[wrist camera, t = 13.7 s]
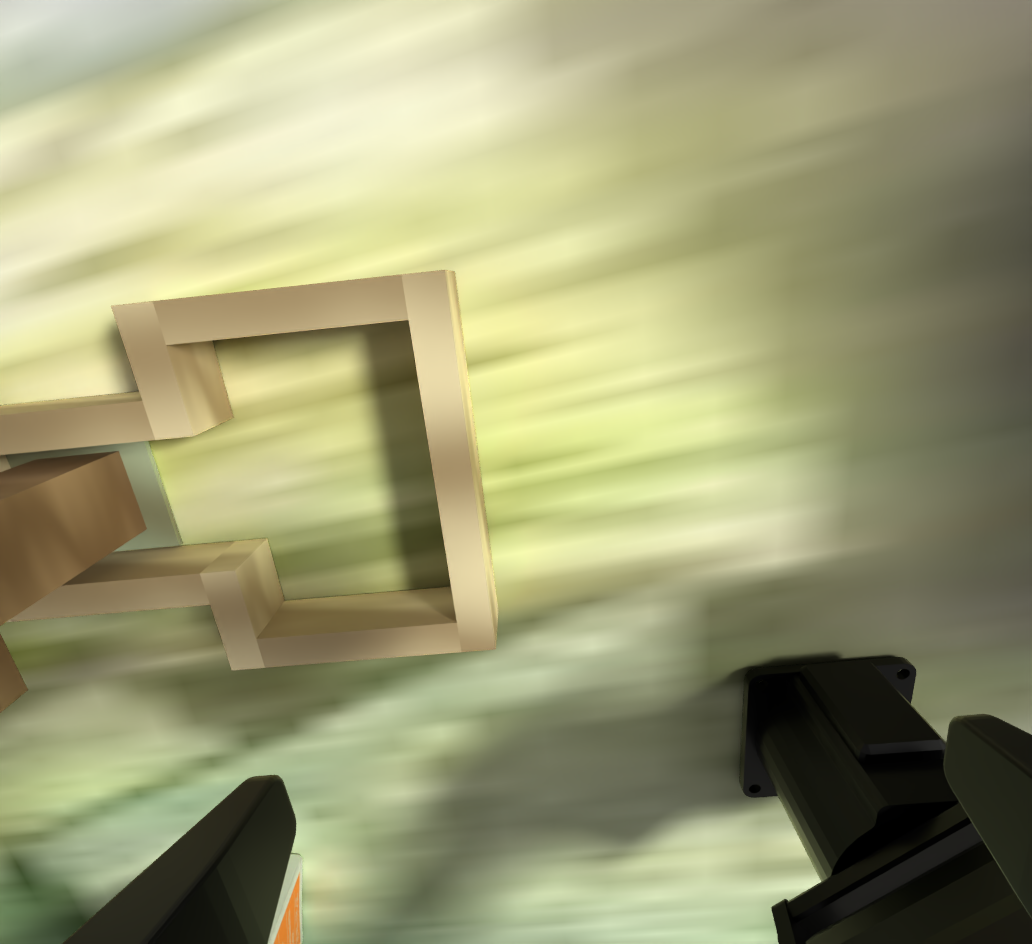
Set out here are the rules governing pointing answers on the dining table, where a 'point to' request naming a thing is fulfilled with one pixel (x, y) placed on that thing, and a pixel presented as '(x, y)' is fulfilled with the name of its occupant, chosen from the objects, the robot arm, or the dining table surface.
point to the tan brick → (57, 533)
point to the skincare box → (289, 906)
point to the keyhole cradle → (249, 563)
